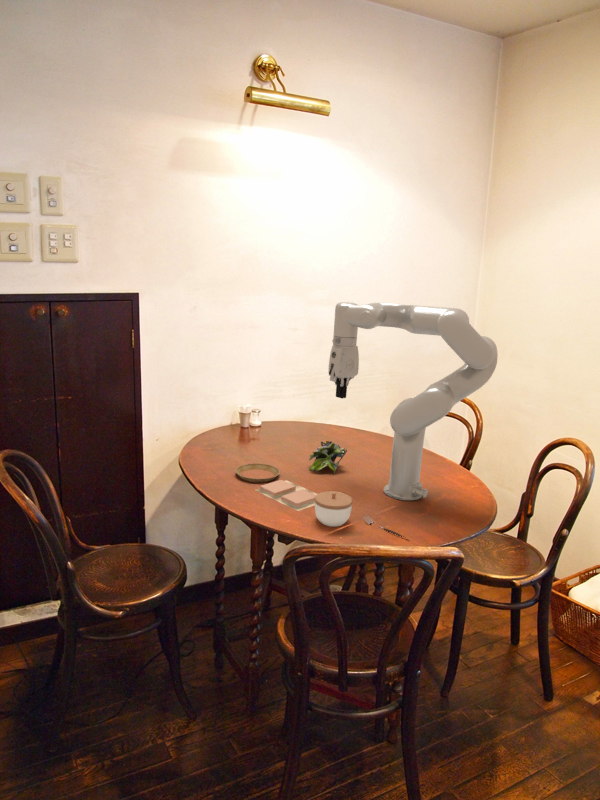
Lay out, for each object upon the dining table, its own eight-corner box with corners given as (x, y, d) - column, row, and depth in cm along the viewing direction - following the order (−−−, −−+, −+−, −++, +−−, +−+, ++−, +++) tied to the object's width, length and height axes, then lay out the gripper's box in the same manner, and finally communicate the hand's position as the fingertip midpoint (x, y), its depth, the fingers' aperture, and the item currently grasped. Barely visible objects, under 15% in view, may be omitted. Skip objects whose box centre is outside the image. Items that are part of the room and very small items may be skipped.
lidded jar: (348, 516, 183) (350, 486, 181) (352, 532, 172) (355, 501, 170) (312, 514, 182) (314, 485, 180) (314, 531, 172) (316, 499, 170)
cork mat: (330, 501, 193) (330, 499, 192) (297, 513, 183) (297, 511, 183) (286, 481, 206) (286, 480, 206) (254, 491, 197) (254, 490, 197)
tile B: (295, 486, 197) (274, 493, 191) (295, 491, 198) (274, 497, 191) (281, 479, 202) (259, 486, 196) (280, 484, 202) (259, 490, 196)
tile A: (318, 496, 190) (297, 503, 184) (318, 501, 191) (296, 508, 185) (302, 489, 195) (281, 496, 189) (302, 494, 196) (281, 500, 189)
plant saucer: (226, 475, 210) (227, 468, 209) (261, 467, 219) (262, 460, 219) (252, 489, 199) (253, 482, 198) (288, 480, 208) (288, 473, 208)
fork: (406, 543, 169) (407, 536, 168) (362, 522, 180) (362, 516, 179) (412, 540, 170) (412, 534, 170) (367, 520, 181) (368, 514, 181)
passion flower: (323, 482, 224) (341, 449, 227) (341, 488, 213) (359, 454, 216) (297, 465, 219) (315, 432, 222) (314, 471, 208) (333, 436, 211)
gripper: (337, 345, 190) (333, 403, 195) (368, 341, 201) (364, 396, 205) (320, 341, 196) (316, 398, 200) (351, 338, 206) (347, 392, 210)
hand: (340, 397), depth 203 cm, fingers closed
